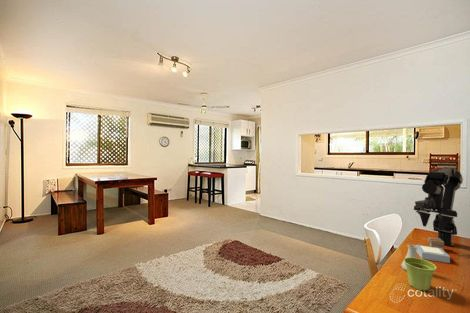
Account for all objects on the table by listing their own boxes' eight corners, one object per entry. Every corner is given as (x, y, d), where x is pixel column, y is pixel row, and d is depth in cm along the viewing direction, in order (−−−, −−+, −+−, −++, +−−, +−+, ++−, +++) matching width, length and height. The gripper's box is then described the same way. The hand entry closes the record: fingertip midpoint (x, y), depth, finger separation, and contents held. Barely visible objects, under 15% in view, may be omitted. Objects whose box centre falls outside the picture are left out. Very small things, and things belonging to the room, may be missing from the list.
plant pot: (438, 297, 79) (439, 272, 79) (404, 288, 84) (404, 264, 84) (433, 284, 87) (433, 261, 87) (402, 276, 92) (402, 255, 92)
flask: (415, 265, 102) (415, 243, 101) (427, 274, 94) (427, 250, 94) (397, 264, 102) (398, 242, 102) (408, 273, 95) (408, 249, 95)
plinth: (415, 250, 117) (415, 244, 117) (440, 254, 113) (441, 247, 113) (421, 258, 108) (422, 252, 108) (449, 263, 104) (449, 256, 104)
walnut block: (427, 246, 123) (428, 237, 123) (439, 248, 121) (440, 238, 121) (431, 250, 118) (431, 240, 118) (443, 251, 116) (444, 242, 116)
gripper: (405, 192, 125) (402, 221, 124) (436, 194, 107) (432, 228, 105) (425, 196, 125) (422, 225, 124) (459, 199, 107) (456, 233, 105)
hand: (432, 228), depth 114 cm, fingers open, 9 cm apart
